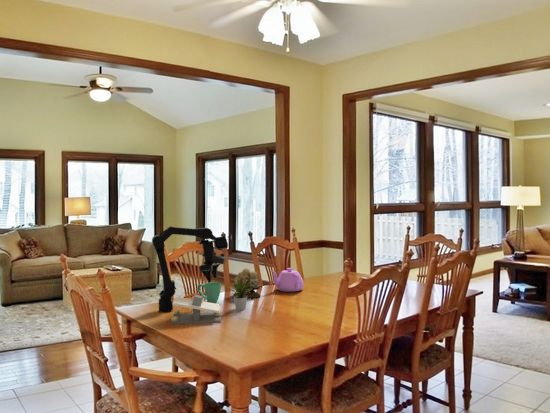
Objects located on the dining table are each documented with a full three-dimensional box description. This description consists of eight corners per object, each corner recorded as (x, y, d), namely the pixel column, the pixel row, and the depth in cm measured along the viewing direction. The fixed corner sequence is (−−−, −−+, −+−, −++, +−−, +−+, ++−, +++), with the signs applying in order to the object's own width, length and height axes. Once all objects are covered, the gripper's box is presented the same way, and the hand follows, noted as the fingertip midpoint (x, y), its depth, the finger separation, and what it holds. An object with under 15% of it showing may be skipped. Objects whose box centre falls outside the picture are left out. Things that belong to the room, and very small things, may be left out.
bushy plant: (265, 296, 282) (265, 267, 282) (256, 300, 272) (255, 270, 271) (239, 293, 290) (238, 265, 290) (228, 297, 280) (228, 268, 279)
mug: (224, 300, 270) (224, 283, 270) (215, 304, 261) (215, 286, 261) (203, 298, 276) (202, 281, 276) (193, 302, 267) (192, 284, 267)
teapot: (263, 289, 301) (262, 267, 301) (292, 285, 312) (292, 264, 311) (279, 295, 282) (279, 272, 282) (311, 291, 292) (310, 269, 292)
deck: (172, 305, 223) (174, 294, 223) (175, 298, 237) (177, 288, 237) (219, 313, 226) (221, 302, 226) (219, 306, 239) (221, 296, 239)
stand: (170, 324, 222) (170, 312, 222) (174, 315, 238) (174, 304, 238) (220, 322, 225) (220, 310, 225) (220, 313, 241) (220, 302, 241)
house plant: (250, 313, 241) (250, 281, 241) (224, 312, 244) (223, 280, 244) (257, 306, 255) (256, 276, 255) (232, 305, 258) (231, 275, 258)
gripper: (217, 253, 244) (221, 283, 245) (228, 246, 262) (231, 274, 263) (197, 255, 246) (201, 284, 247) (208, 248, 264) (212, 276, 265)
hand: (212, 280), depth 256 cm, fingers open, 9 cm apart
